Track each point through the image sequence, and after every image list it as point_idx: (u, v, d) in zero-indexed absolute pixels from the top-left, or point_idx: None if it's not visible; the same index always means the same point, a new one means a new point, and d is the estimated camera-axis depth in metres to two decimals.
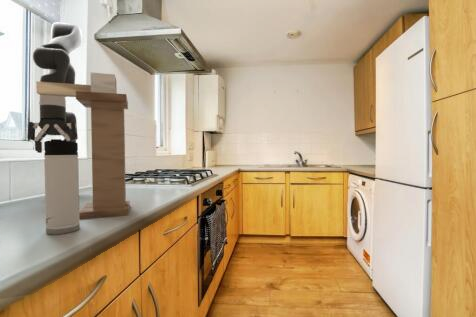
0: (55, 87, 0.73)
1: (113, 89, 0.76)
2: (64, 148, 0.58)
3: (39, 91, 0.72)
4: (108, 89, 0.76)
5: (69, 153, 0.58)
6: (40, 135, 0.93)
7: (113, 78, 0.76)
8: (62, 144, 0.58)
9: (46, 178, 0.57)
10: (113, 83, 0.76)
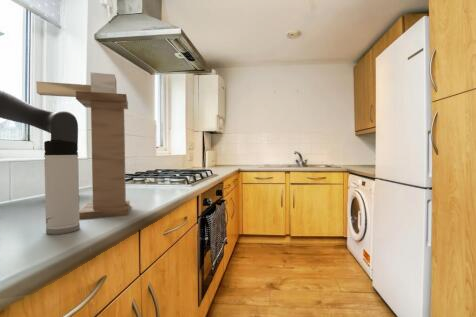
0: (55, 87, 0.73)
1: (113, 89, 0.76)
2: (64, 148, 0.58)
3: (39, 91, 0.72)
4: (108, 89, 0.76)
5: (69, 153, 0.58)
6: None
7: (113, 78, 0.76)
8: (62, 144, 0.58)
9: (46, 178, 0.57)
10: (113, 83, 0.76)
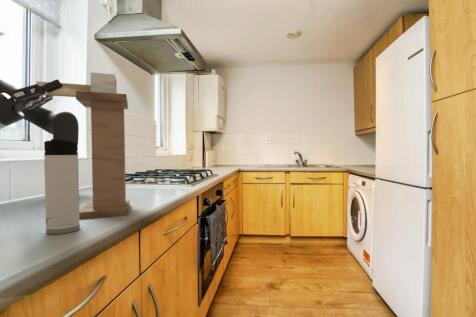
0: None
1: (113, 89, 0.76)
2: (64, 148, 0.58)
3: None
4: (108, 89, 0.76)
5: (69, 153, 0.58)
6: (44, 100, 0.75)
7: (113, 78, 0.76)
8: (62, 144, 0.58)
9: (46, 178, 0.57)
10: (113, 83, 0.76)
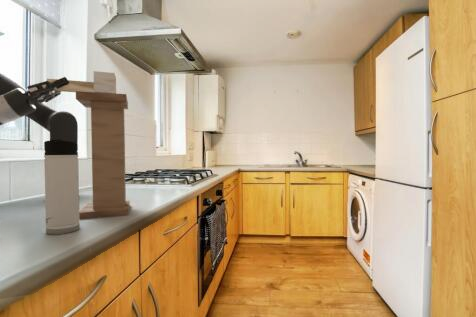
0: None
1: (113, 86, 0.88)
2: (64, 148, 0.58)
3: None
4: (108, 86, 0.88)
5: (69, 153, 0.58)
6: (53, 95, 0.87)
7: (113, 76, 0.88)
8: (62, 144, 0.58)
9: (46, 178, 0.57)
10: (113, 80, 0.88)
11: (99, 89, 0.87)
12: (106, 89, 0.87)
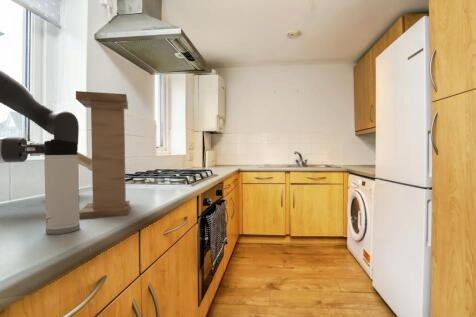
0: None
1: None
2: (64, 148, 0.58)
3: None
4: None
5: (69, 153, 0.58)
6: None
7: None
8: (62, 144, 0.58)
9: (46, 178, 0.57)
10: None
11: None
12: None
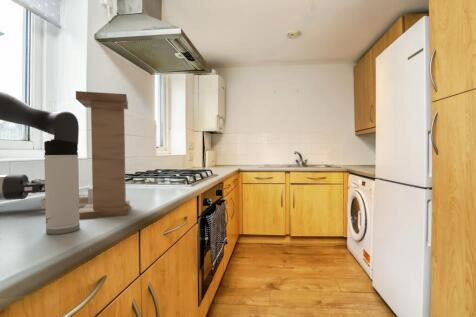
0: None
1: None
2: (64, 148, 0.58)
3: (44, 208, 0.84)
4: None
5: (69, 153, 0.58)
6: None
7: None
8: (62, 144, 0.58)
9: (46, 178, 0.57)
10: None
11: None
12: None
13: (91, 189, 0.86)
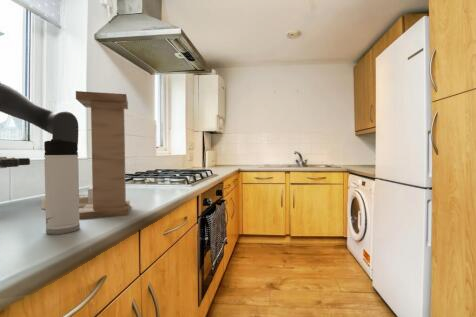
0: None
1: None
2: (64, 148, 0.58)
3: (44, 208, 0.84)
4: None
5: (69, 153, 0.58)
6: (6, 166, 0.85)
7: None
8: (62, 144, 0.58)
9: (46, 178, 0.57)
10: None
11: None
12: None
13: (91, 189, 0.86)
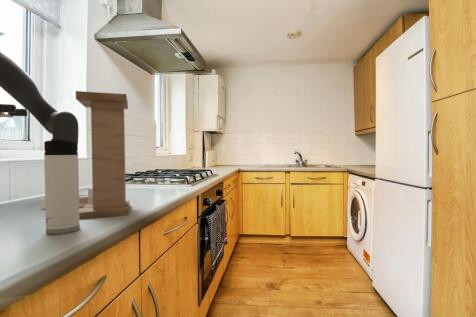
0: None
1: None
2: (64, 148, 0.58)
3: (44, 208, 0.84)
4: None
5: (69, 153, 0.58)
6: (3, 116, 0.84)
7: None
8: (62, 144, 0.58)
9: (46, 178, 0.57)
10: None
11: None
12: None
13: (91, 189, 0.86)
